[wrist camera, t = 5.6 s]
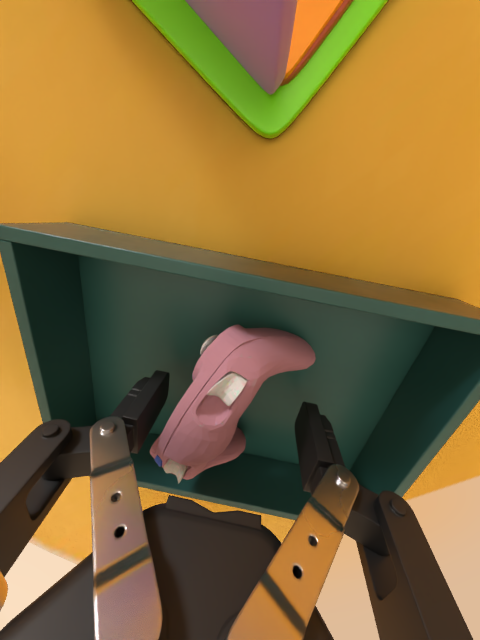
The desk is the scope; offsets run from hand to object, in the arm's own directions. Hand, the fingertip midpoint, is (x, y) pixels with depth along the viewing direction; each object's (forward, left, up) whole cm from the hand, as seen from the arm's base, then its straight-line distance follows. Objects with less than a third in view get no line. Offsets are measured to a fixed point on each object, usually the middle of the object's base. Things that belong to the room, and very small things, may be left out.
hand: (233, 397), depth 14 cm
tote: (0, 0, -2) cm, 2 cm away
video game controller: (0, 0, -2) cm, 2 cm away
